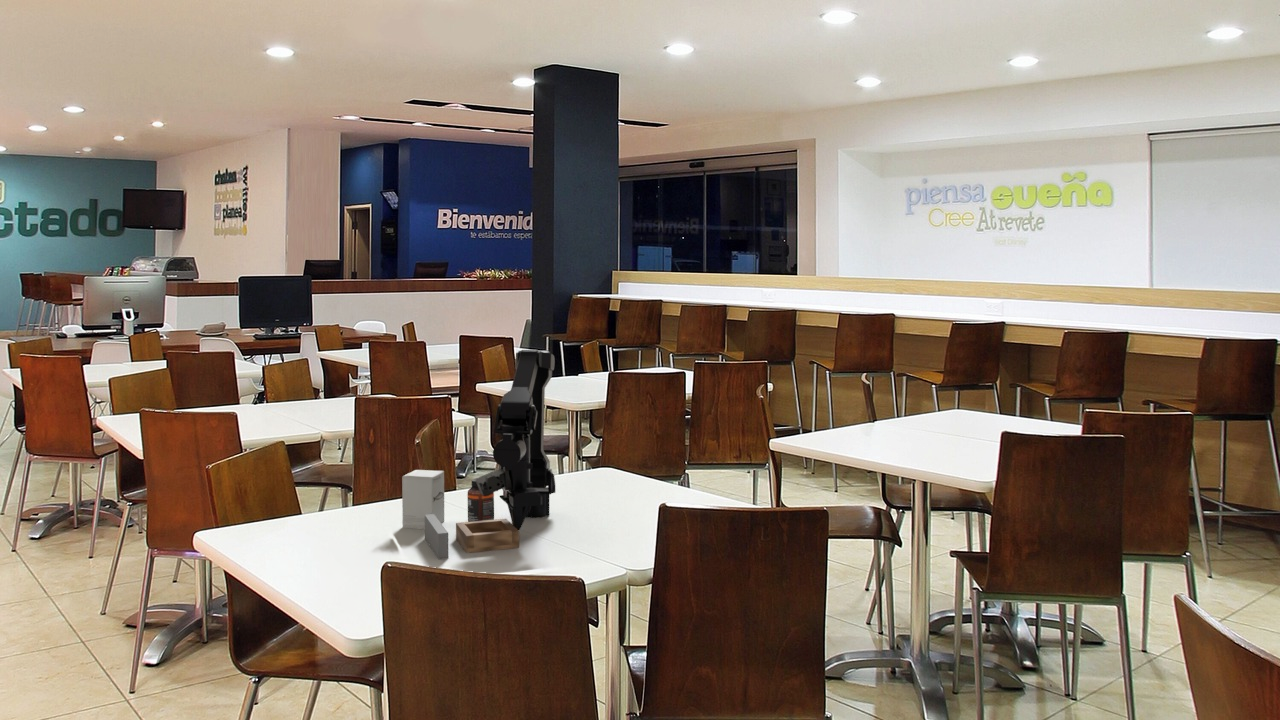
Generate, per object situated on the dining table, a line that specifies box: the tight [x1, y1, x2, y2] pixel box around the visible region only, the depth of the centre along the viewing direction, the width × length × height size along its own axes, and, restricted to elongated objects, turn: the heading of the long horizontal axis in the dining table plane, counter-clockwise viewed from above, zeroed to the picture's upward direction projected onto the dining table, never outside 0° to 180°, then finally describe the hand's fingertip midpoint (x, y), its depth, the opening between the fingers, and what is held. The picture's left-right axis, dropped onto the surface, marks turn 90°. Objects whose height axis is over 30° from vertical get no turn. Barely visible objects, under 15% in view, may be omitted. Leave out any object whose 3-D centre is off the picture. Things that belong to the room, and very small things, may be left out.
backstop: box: [424, 514, 449, 560], centre depth 211 cm, size 21×16×6 cm
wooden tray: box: [455, 518, 520, 554], centre depth 212 cm, size 11×11×4 cm
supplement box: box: [401, 469, 445, 530], centre depth 226 cm, size 7×7×13 cm
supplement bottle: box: [467, 477, 495, 522], centre depth 226 cm, size 6×6×11 cm
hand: (516, 530), depth 214 cm, fingers closed
